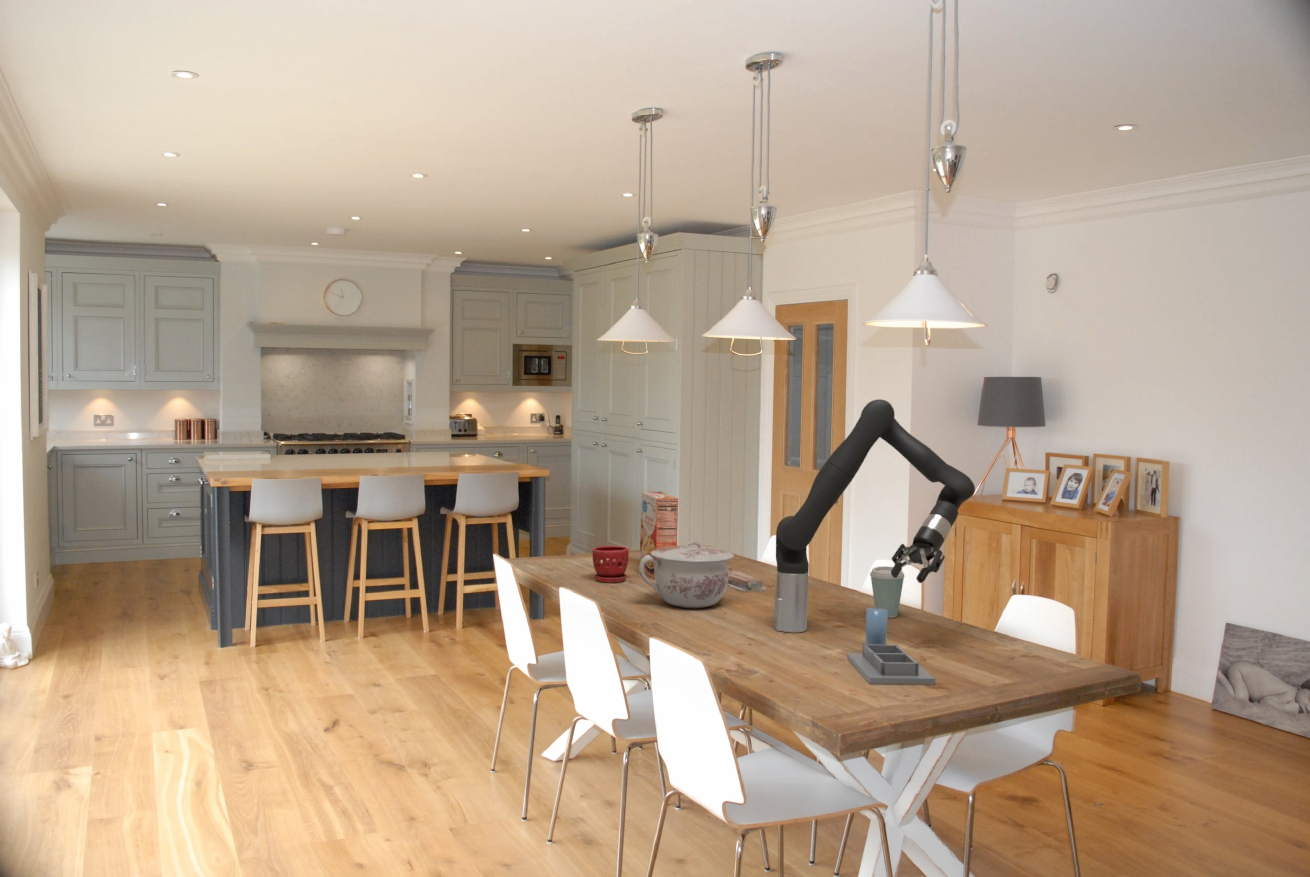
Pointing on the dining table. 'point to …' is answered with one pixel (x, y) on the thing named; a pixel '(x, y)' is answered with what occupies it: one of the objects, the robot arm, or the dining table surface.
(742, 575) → the packaged product
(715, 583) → the chamber pot
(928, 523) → the robot arm
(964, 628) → the dining table surface
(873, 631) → the pale blue cylinder
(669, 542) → the orange cereal box
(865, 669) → the tray
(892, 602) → the disposable coffee cup
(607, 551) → the plant pot
